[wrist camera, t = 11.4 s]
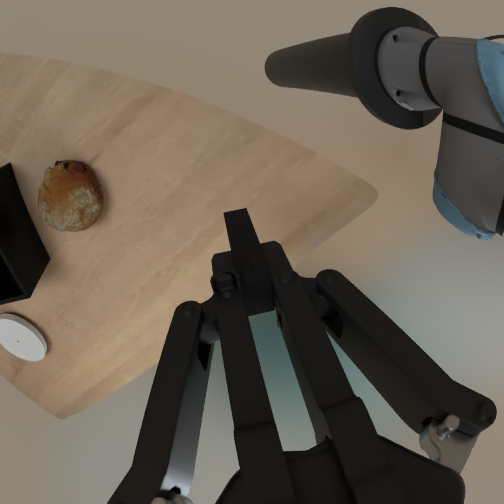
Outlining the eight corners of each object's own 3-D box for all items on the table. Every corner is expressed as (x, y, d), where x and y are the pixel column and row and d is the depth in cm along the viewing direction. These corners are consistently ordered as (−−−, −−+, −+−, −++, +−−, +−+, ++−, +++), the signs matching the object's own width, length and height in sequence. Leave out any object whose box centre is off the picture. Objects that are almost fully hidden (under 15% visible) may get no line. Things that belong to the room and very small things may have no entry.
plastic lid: (14, 301, 41) (10, 310, 39) (59, 344, 50) (56, 353, 48) (-12, 321, 42) (-16, 329, 40) (28, 358, 50) (26, 366, 48)
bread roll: (58, 206, 38) (48, 248, 34) (35, 160, 30) (16, 203, 26) (112, 198, 40) (106, 241, 36) (95, 147, 32) (82, 191, 28)
